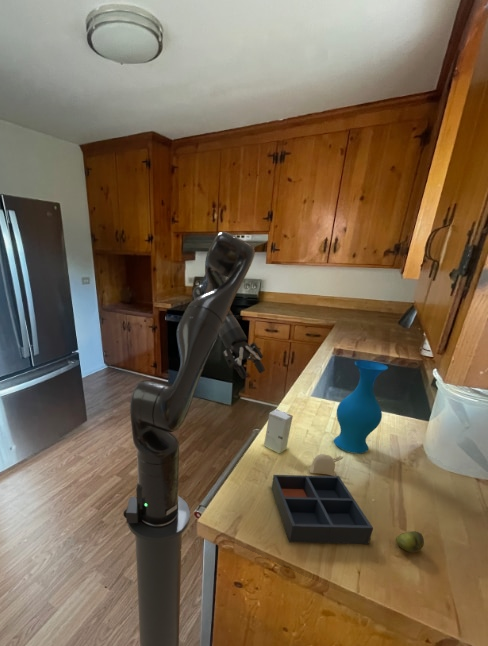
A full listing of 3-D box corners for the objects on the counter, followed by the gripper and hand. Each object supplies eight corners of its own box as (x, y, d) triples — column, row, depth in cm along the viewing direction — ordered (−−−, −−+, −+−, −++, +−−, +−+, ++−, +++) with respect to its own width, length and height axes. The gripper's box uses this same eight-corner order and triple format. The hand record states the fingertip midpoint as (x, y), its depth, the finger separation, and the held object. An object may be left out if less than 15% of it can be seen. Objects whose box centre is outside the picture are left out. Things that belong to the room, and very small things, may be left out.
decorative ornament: (308, 464, 97) (311, 449, 95) (338, 469, 95) (342, 454, 93) (309, 473, 93) (313, 457, 91) (341, 478, 92) (345, 462, 90)
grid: (289, 542, 71) (292, 526, 69) (271, 488, 87) (273, 474, 85) (368, 544, 71) (373, 528, 69) (335, 490, 87) (339, 476, 85)
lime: (391, 547, 70) (397, 529, 68) (400, 536, 73) (407, 519, 71) (414, 562, 67) (421, 543, 65) (423, 550, 70) (430, 532, 68)
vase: (375, 460, 100) (400, 374, 89) (331, 451, 104) (350, 368, 93) (368, 440, 111) (390, 361, 100) (328, 433, 114) (345, 356, 104)
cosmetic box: (263, 446, 106) (267, 412, 101) (270, 441, 109) (275, 408, 104) (280, 454, 102) (285, 419, 97) (287, 448, 105) (293, 414, 100)
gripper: (221, 328, 102) (246, 373, 98) (251, 323, 110) (275, 364, 107) (209, 341, 108) (232, 384, 104) (238, 335, 116) (260, 375, 113)
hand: (253, 374), depth 105 cm, fingers open, 8 cm apart
